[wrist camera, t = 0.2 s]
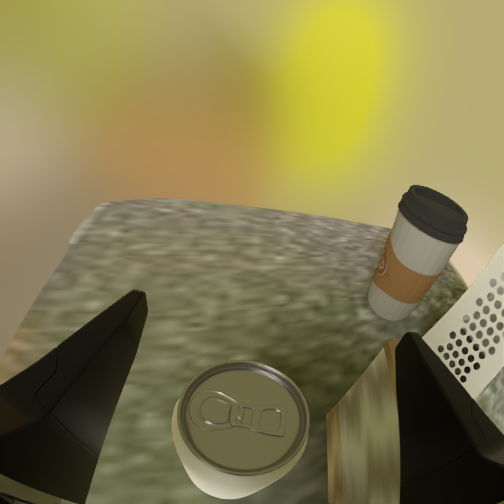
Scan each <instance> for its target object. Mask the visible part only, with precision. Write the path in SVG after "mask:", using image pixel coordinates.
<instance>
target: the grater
mask: <svg viewBox="0 0 504 504" xmlns="http://www.w3.org/2000/svg"><path fill="white" fill-rule="evenodd" d="M461 328H463V330H464V331H465V332H466V335H464V336H462V335H461V334H460V330H461ZM452 331H454V332H455V333H456V337H455V339H451V338H450V332H452ZM467 336H469V337H470V338H471V339H472V343H468V342H467V341H466V338H467ZM422 339H423V340H424V341H425V342H426V343H427V344H428V345H429V347H430V348H431V349H432V350H433V351H434V352H435V353H436V355H437V356H439V357H440V358H441V360H442V362H443V363H444V364H445V365H446V366H447V368H448V369H449V370H450V371H451V372H452V373H453V375H454V376H455V377H456V378H457V380H458V381H459V382H460V383H461V384H462V386H463V387H464V388H465V389H466V391H467V392H468V393H469V394H470V396H471V397H472V398H473V399H474V398H475V397H476V396H477V395H478V394H479V393H480V392H481V391H482V390H483V389H484V388H485V387H486V386H487V385H488V383H489V382H490V381H491V380H492V379H493V378H494V377H495V376H496V374H497V373H498V372H499V371H500V370H501V369H502V367H503V366H504V244H503V245H502V246H501V248H500V249H499V250H498V252H497V253H496V254H495V256H494V257H493V258H492V260H491V261H490V262H489V264H488V265H487V266H486V268H485V269H484V270H483V271H482V273H481V274H480V275H479V276H478V278H477V279H476V280H475V281H474V283H473V284H472V285H471V286H470V287H469V288H468V290H467V291H466V292H465V293H464V294H463V295H462V296H461V298H460V299H459V300H458V301H457V302H456V303H455V304H454V305H453V306H452V307H451V309H450V310H449V311H448V312H447V313H446V314H445V315H444V316H443V317H442V318H441V319H440V320H439V321H438V322H437V323H436V324H435V325H434V326H433V327H432V328H431V329H430V330H429V331H428V332H427V333H426V334H425V335H424V336H423V337H422ZM457 339H461V341H462V345H461V346H460V347H458V346H456V340H457ZM448 343H451V344H452V345H453V349H452V350H451V351H449V350H447V344H448ZM474 344H475V345H476V346H477V347H478V348H479V350H478V351H474V350H473V345H474ZM439 345H442V346H443V347H444V351H443V352H442V353H440V352H439V351H438V346H439ZM463 347H467V348H468V353H467V354H466V355H464V354H462V348H463ZM453 351H458V353H459V356H458V358H454V357H453V355H452V353H453ZM479 352H482V354H483V355H484V356H485V358H484V359H480V358H479ZM444 353H449V355H450V358H449V359H448V360H445V359H444V358H443V355H444ZM469 355H473V356H474V361H473V362H469V361H468V356H469ZM459 359H464V360H465V364H464V365H463V366H460V365H459V364H458V361H459ZM451 360H453V361H455V367H453V368H451V367H450V366H449V362H450V361H451ZM476 362H478V363H479V364H480V368H479V369H478V370H475V369H474V368H473V365H474V363H476ZM466 366H469V367H470V369H471V371H470V373H468V374H466V373H465V372H464V368H465V367H466ZM456 368H460V369H461V373H460V375H456V374H455V369H456ZM462 375H464V376H466V378H467V379H466V382H464V383H462V382H461V381H460V377H461V376H462Z"/></svg>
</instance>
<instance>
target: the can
mask: <svg viewBox="0 0 504 504" xmlns="http://www.w3.org/2000/svg"><path fill="white" fill-rule="evenodd" d="M309 426H310V415H309V409H308V405H307V402H306V400H305V398H304V396H303V394H302V392H301V391H300V389H299V388H298V386H297V385H296V384H295V383H294V382H293V381H292V380H291V379H290V378H289V377H288V376H286V375H285V374H284V373H282V372H281V371H279V370H277V369H275V368H273V367H271V366H269V365H266V364H263V363H260V362H255V361H249V360H231V361H225V362H221V363H217V364H214V365H212V366H210V367H208V368H206V369H204V370H202V371H201V372H199V373H198V374H197V375H196V376H194V377H193V378H192V379H191V380H190V381H189V383H188V384H187V385H186V387H185V388H184V390H183V392H182V394H181V396H180V398H179V399H178V401H177V403H176V405H175V408H174V411H173V415H172V437H173V441H174V444H175V448H176V450H177V453H178V455H179V457H180V459H181V461H182V463H183V466H184V468H185V470H186V471H187V473H188V475H189V477H190V479H191V480H192V481H193V483H194V484H195V485H196V486H197V487H198V488H199V489H201V490H202V491H203V492H205V493H207V494H209V495H211V496H214V497H217V498H222V499H238V498H242V497H246V496H248V495H251V494H253V493H255V492H257V491H259V490H261V489H263V488H265V487H267V486H268V485H270V484H272V483H274V482H275V481H277V480H279V479H280V478H282V477H283V476H284V475H286V474H287V473H288V472H289V471H290V470H291V469H292V468H293V467H294V466H295V465H296V463H297V462H298V461H299V459H300V458H301V456H302V454H303V452H304V450H305V447H306V444H307V439H308V432H309Z"/></svg>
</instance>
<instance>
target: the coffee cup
mask: <svg viewBox="0 0 504 504" xmlns="http://www.w3.org/2000/svg"><path fill="white" fill-rule="evenodd" d="M398 208H399V209H398V213H397V216H396V219H395V222H394V225H393V228H392V230H391V232H390V234H389V237H388V240H387V242H386V245H385V248H384V251H383V253H382V256H381V259H380V261H379V264H378V267H377V269H376V272H375V274H374V278H373V281H372V283H371V286H370V288H369V291H368V302H369V305H370V307H371V308H372V310H373V311H374V312H375V313H376V314H377V315H378V316H380V317H381V318H383V319H386V320H389V321H400V320H402V319H405V318H406V317H408V316H409V315H410V313H411V312H412V311H413V309H414V308H415V307H416V306H417V304H418V303H419V302H420V301H421V300H422V299H423V297H424V296H425V295H426V293H427V292H428V291H429V289H430V288H431V287H432V285H433V284H434V282H435V281H436V280H437V278H438V277H439V275H440V274H441V272H442V271H443V269H444V267H445V265H446V264H447V262H448V261H449V259H450V257H451V256H452V254H453V253H454V251H455V250H456V248H457V246H458V245H459V244H460V243H461V242H462V241H463V238H464V234H466V231H467V227H466V224H467V221H468V216H467V214H466V212H465V211H464V210H463V209H462V208H461V207H460V206H459V205H458V204H457V203H455V202H454V201H453V200H451V199H450V198H448V197H447V196H445V195H443V194H441V193H439V192H437V191H435V190H433V189H430V188H428V187H424V186H420V185H413V186H411V187H410V188H409V190H408V192H406V193H405V194H403V196H402V199H401V201H400V202H399V204H398Z"/></svg>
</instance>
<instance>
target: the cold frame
mask: <svg viewBox="0 0 504 504" xmlns="http://www.w3.org/2000/svg"><path fill="white" fill-rule="evenodd" d="M398 343H399V341H391V340H388V341H387V342H386V344H385V345H384V346H383V349H382V350H381V351H380V352H379V354H378V355H377V356H376V358H375V359H374V360H373V361H372V363H371V364H370V365H369V366H368V368H367V369H366V370H365V371H364V373H363V374H362V375H361V376H360V377H359V379H358V380H357V381H356V382H355V383H354V385H353V386H352V387H351V388H350V389H349V390H348V392H347V393H346V394H345V395H344V396H343V397H342V398H341V399H340V400H339V402H338V403H337V404H336V405H335V406H334V407H333V408H332V409H331V410H330V411H329V412H328V413H327V414H326V433H327V460H328V504H399V501H400V486H401V485H400V440H399V422H398V408H397V397H396V376H395V348H396V346H397V344H398Z"/></svg>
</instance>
